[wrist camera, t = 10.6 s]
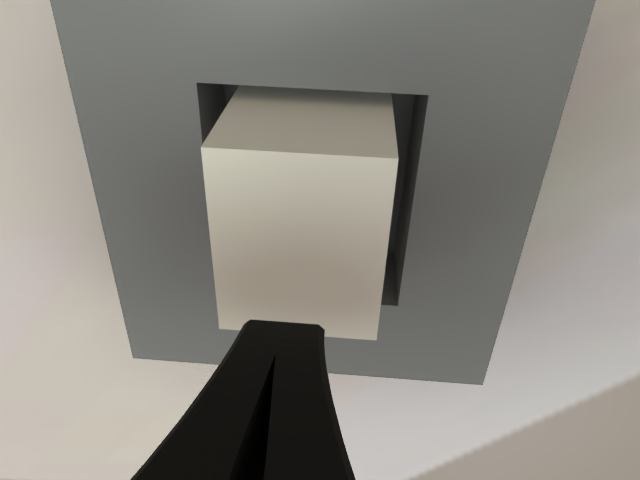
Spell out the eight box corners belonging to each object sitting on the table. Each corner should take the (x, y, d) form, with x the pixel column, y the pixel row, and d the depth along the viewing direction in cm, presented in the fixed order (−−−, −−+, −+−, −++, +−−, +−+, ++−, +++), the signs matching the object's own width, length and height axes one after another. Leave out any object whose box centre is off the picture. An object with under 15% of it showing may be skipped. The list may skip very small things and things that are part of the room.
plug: (389, 75, 15) (398, 159, 11) (374, 224, 18) (376, 340, 14) (249, 68, 15) (200, 147, 11) (256, 216, 18) (219, 329, 14)
